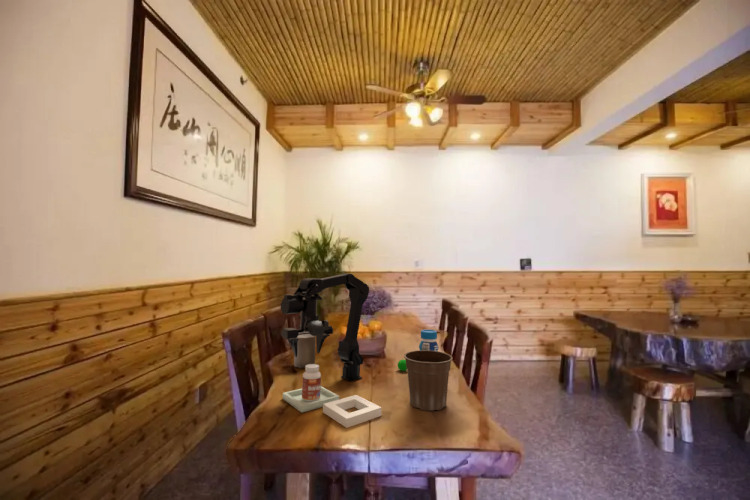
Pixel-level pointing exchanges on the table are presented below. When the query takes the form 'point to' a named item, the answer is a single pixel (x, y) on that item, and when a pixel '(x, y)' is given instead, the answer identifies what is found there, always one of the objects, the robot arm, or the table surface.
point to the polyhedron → (402, 365)
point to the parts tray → (303, 406)
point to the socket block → (349, 419)
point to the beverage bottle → (428, 340)
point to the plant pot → (428, 378)
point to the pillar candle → (305, 351)
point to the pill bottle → (311, 383)
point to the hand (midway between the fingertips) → (307, 354)
